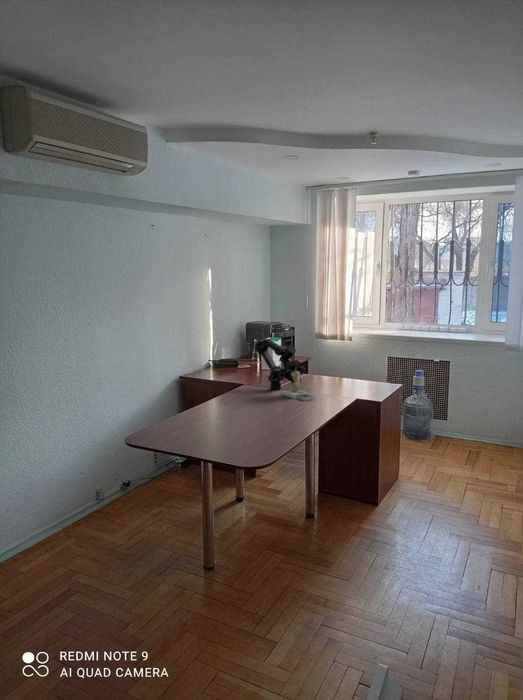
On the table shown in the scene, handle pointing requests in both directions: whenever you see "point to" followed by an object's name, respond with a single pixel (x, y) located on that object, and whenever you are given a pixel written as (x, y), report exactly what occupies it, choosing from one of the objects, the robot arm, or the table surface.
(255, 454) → the table surface
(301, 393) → the tray
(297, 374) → the dowel
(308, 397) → the dowel holder
